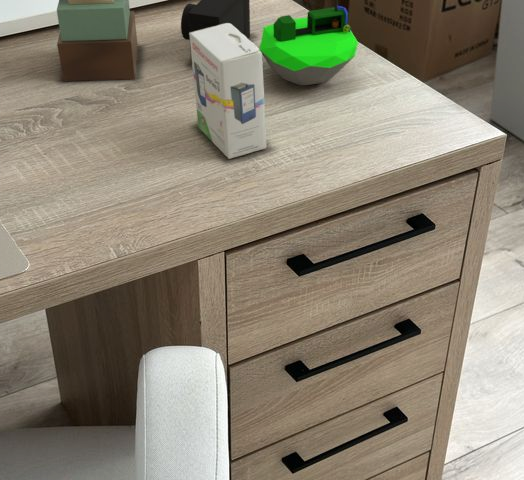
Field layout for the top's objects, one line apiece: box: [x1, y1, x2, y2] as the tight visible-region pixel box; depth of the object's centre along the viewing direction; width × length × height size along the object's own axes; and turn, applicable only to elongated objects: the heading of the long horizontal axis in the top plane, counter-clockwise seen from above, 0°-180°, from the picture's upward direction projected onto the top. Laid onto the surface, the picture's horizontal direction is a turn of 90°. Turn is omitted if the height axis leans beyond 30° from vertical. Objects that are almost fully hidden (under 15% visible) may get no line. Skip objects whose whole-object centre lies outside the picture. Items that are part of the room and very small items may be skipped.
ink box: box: [189, 23, 267, 160], centre depth 105 cm, size 9×5×12 cm, turn 27°
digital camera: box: [180, 0, 251, 65], centre depth 123 cm, size 10×5×7 cm, turn 160°
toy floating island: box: [259, 0, 359, 86], centre depth 116 cm, size 12×12×11 cm
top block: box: [56, 0, 131, 41], centre depth 118 cm, size 8×8×4 cm
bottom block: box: [56, 10, 139, 82], centre depth 121 cm, size 9×9×5 cm
